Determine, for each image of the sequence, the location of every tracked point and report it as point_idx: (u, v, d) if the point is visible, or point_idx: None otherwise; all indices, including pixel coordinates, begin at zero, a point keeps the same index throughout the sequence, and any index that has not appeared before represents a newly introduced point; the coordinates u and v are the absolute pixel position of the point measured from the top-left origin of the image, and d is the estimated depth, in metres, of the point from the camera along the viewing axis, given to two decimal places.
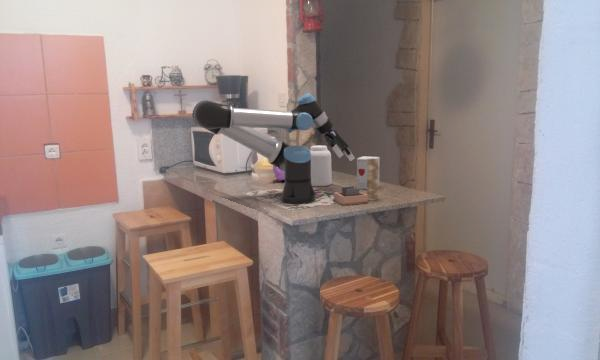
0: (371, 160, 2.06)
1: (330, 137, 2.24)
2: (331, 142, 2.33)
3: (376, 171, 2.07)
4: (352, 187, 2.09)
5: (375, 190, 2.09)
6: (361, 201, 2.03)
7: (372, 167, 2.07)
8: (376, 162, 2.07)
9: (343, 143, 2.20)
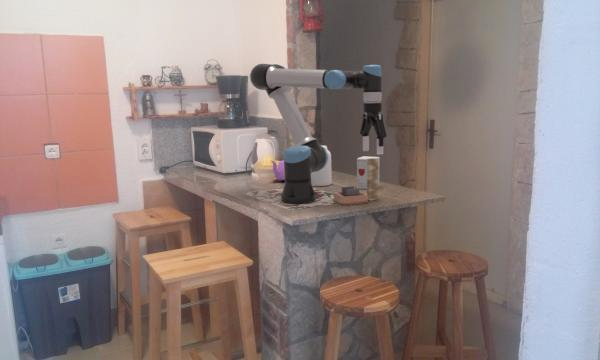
0: (371, 160, 2.06)
1: (372, 120, 2.01)
2: (366, 130, 2.10)
3: (376, 171, 2.07)
4: (352, 187, 2.09)
5: (375, 190, 2.09)
6: (361, 201, 2.03)
7: (372, 167, 2.07)
8: (376, 162, 2.07)
9: (383, 131, 1.97)
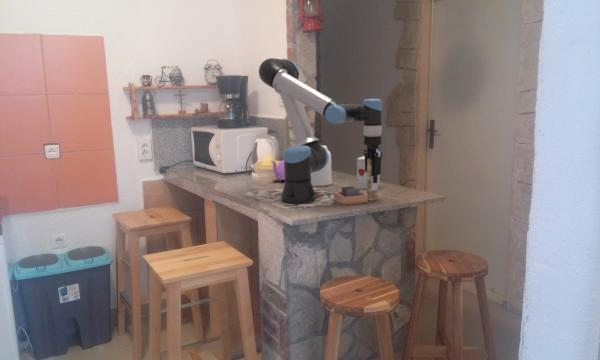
0: None
1: (371, 154, 2.04)
2: None
3: None
4: (352, 187, 2.09)
5: (375, 190, 2.09)
6: (361, 201, 2.03)
7: None
8: None
9: (378, 169, 2.03)
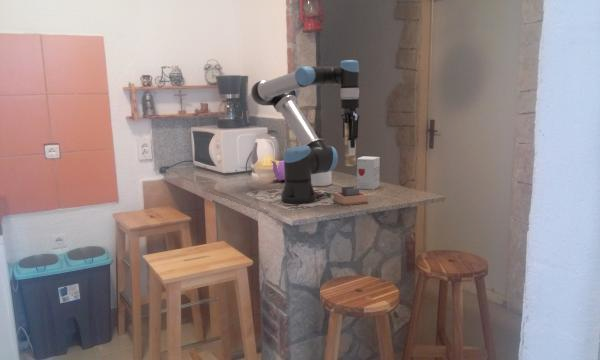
0: None
1: (348, 118, 1.99)
2: None
3: None
4: (352, 187, 2.09)
5: None
6: (361, 201, 2.03)
7: None
8: None
9: (355, 133, 1.97)
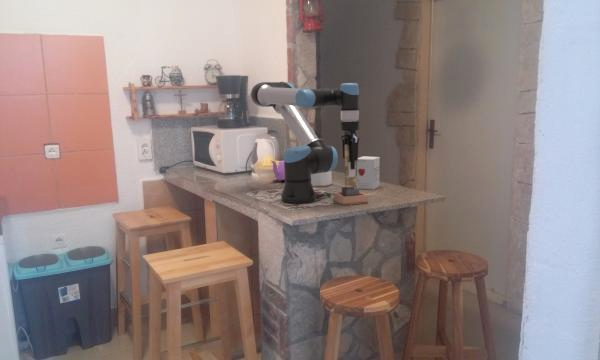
0: None
1: (348, 140, 2.00)
2: None
3: None
4: (352, 187, 2.09)
5: (352, 177, 2.04)
6: (361, 201, 2.03)
7: None
8: None
9: (355, 155, 1.99)
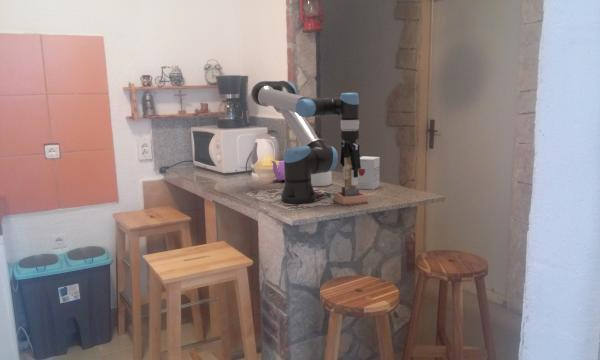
0: (347, 159, 2.02)
1: (349, 148, 2.00)
2: None
3: None
4: None
5: None
6: (361, 201, 2.03)
7: (349, 166, 2.03)
8: None
9: (358, 162, 1.97)
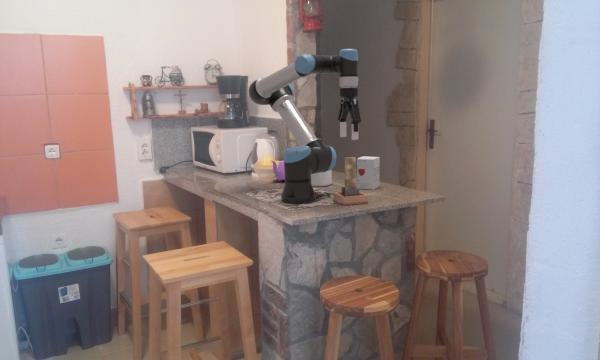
0: (348, 159, 2.02)
1: (348, 105, 1.99)
2: (343, 115, 2.08)
3: (354, 170, 2.04)
4: None
5: None
6: (361, 201, 2.03)
7: (350, 166, 2.03)
8: (353, 161, 2.03)
9: (357, 116, 1.94)
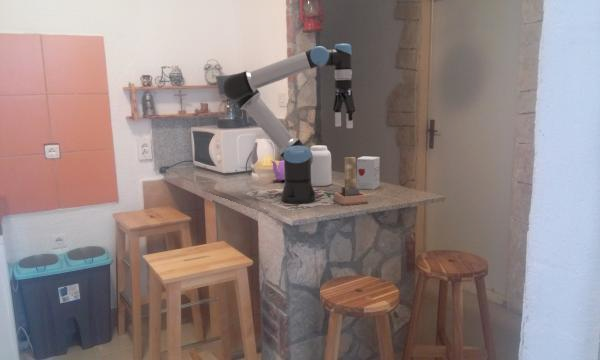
0: (348, 159, 2.02)
1: (342, 96, 2.14)
2: (338, 106, 2.23)
3: (354, 170, 2.04)
4: None
5: None
6: (361, 201, 2.03)
7: (350, 166, 2.03)
8: (353, 161, 2.03)
9: (352, 105, 2.09)
